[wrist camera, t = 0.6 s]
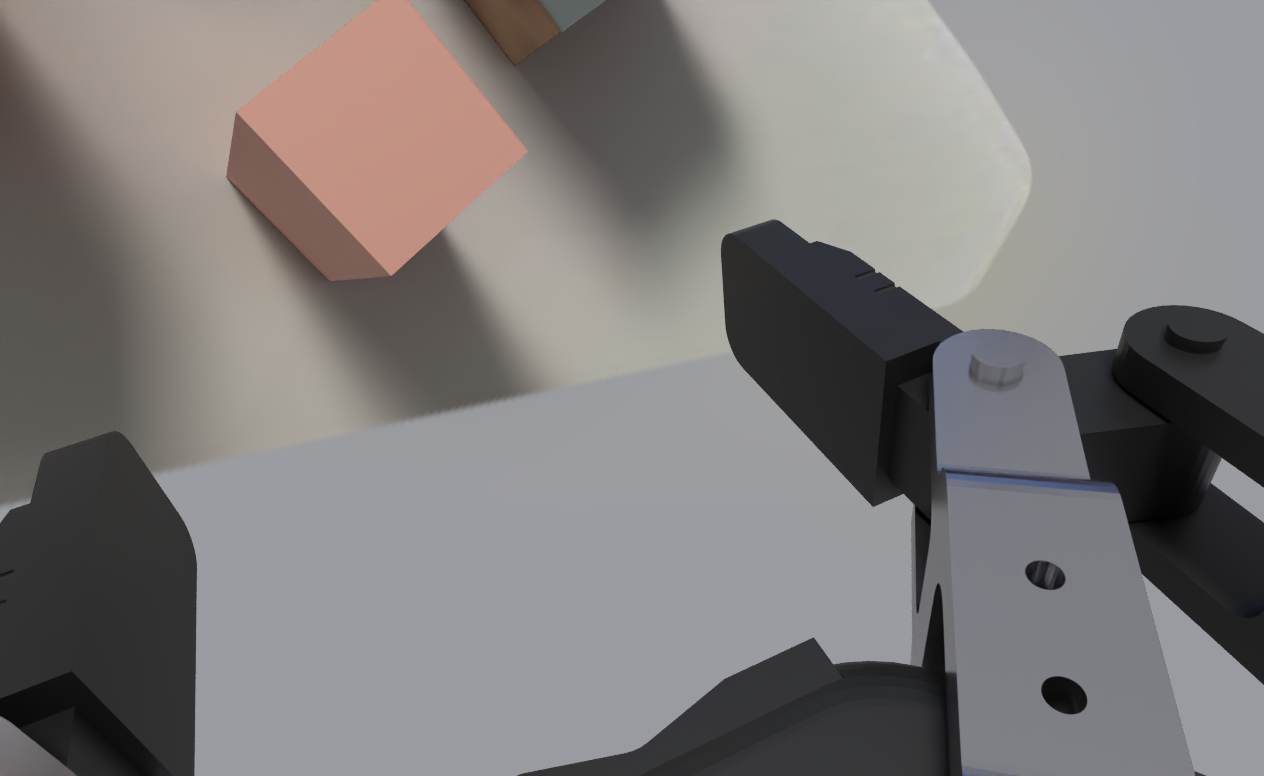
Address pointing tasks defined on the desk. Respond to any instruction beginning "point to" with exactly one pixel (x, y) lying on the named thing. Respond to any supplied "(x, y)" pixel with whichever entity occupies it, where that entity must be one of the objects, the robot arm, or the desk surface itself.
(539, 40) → the tower base block
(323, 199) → the brick-red block
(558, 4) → the tower top block
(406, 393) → the desk surface
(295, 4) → the desk surface
